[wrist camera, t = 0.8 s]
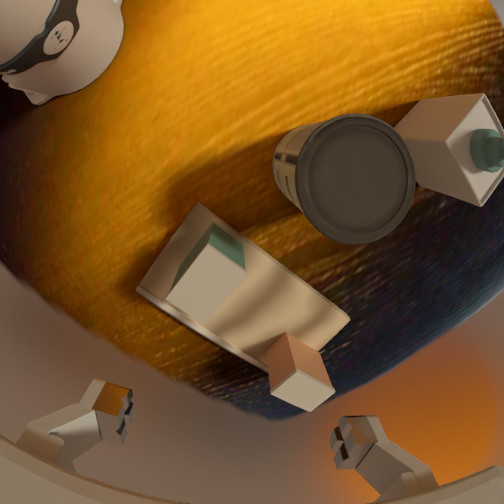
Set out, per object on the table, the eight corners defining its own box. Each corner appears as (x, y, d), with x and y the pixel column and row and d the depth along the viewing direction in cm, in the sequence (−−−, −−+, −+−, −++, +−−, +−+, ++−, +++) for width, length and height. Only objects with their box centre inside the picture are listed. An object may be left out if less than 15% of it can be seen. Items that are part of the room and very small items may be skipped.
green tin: (178, 265, 36) (165, 299, 28) (213, 221, 35) (207, 244, 27) (209, 287, 38) (204, 324, 30) (244, 245, 36) (248, 274, 28)
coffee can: (369, 168, 35) (435, 186, 22) (312, 224, 37) (353, 269, 24) (315, 105, 32) (363, 86, 19) (253, 164, 34) (266, 177, 21)
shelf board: (137, 285, 39) (134, 291, 37) (198, 201, 35) (196, 204, 34) (282, 374, 45) (284, 382, 44) (347, 314, 42) (351, 320, 40)
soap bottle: (453, 146, 34) (556, 165, 16) (419, 186, 36) (522, 225, 18) (420, 98, 32) (528, 89, 14) (383, 137, 34) (491, 146, 16)
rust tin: (285, 330, 41) (296, 371, 33) (320, 352, 42) (335, 391, 35) (263, 352, 42) (270, 394, 34) (298, 372, 44) (309, 412, 36)
